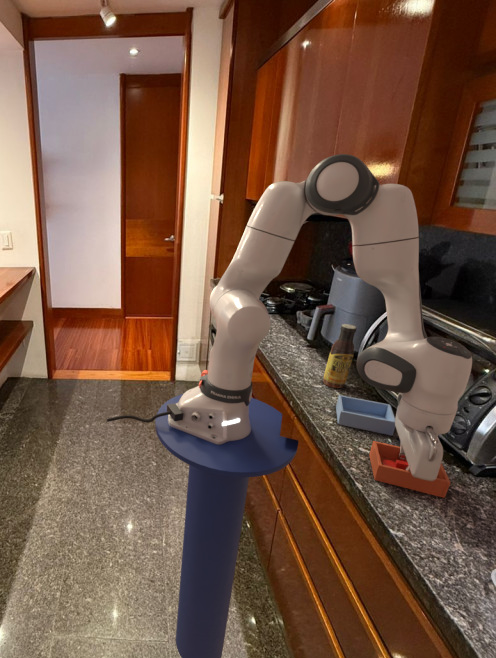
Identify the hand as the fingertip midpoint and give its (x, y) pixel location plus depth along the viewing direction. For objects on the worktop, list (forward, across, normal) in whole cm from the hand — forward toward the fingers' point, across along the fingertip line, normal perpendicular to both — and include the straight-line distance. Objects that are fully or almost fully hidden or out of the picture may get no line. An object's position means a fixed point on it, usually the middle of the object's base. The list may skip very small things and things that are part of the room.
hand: (406, 468), depth 85 cm
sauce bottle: (+2, +39, +12) cm, 41 cm away
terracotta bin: (+2, 0, 0) cm, 2 cm away
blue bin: (+2, +20, +6) cm, 21 cm away
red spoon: (+1, 0, 0) cm, 1 cm away
